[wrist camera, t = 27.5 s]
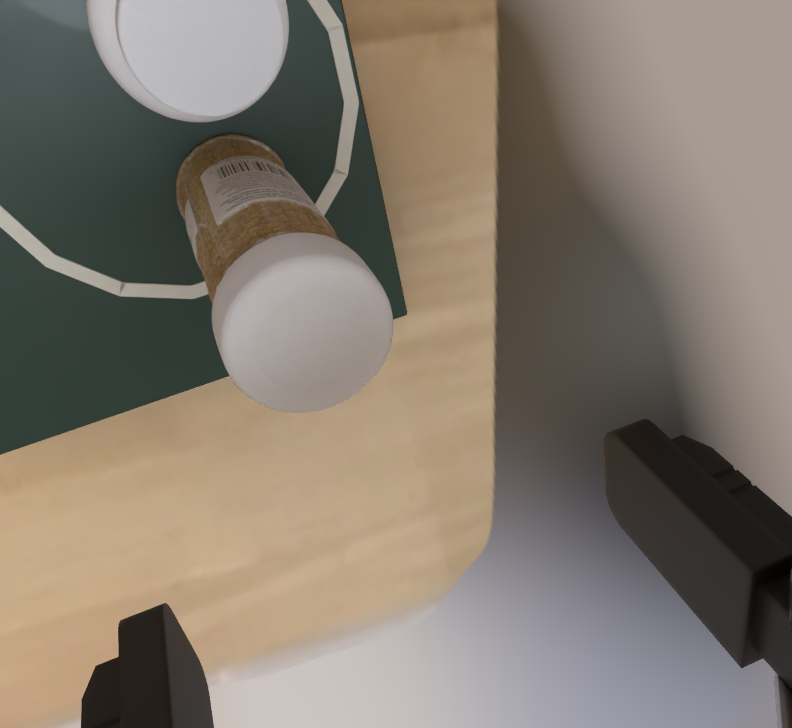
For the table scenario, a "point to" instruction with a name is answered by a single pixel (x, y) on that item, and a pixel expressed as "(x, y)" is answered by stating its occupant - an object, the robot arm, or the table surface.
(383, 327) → the spice jar
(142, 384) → the chalkboard
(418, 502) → the table surface
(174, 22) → the supplement bottle
